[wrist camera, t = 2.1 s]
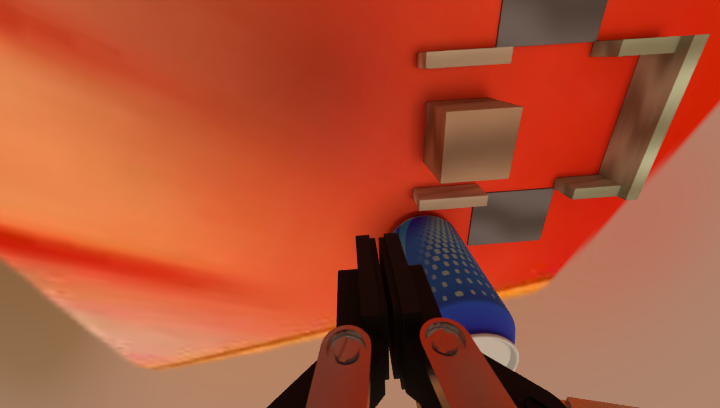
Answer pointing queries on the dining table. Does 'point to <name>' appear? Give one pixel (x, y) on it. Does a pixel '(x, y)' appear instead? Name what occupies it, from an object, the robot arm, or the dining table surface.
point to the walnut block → (470, 139)
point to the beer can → (460, 286)
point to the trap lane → (631, 133)
